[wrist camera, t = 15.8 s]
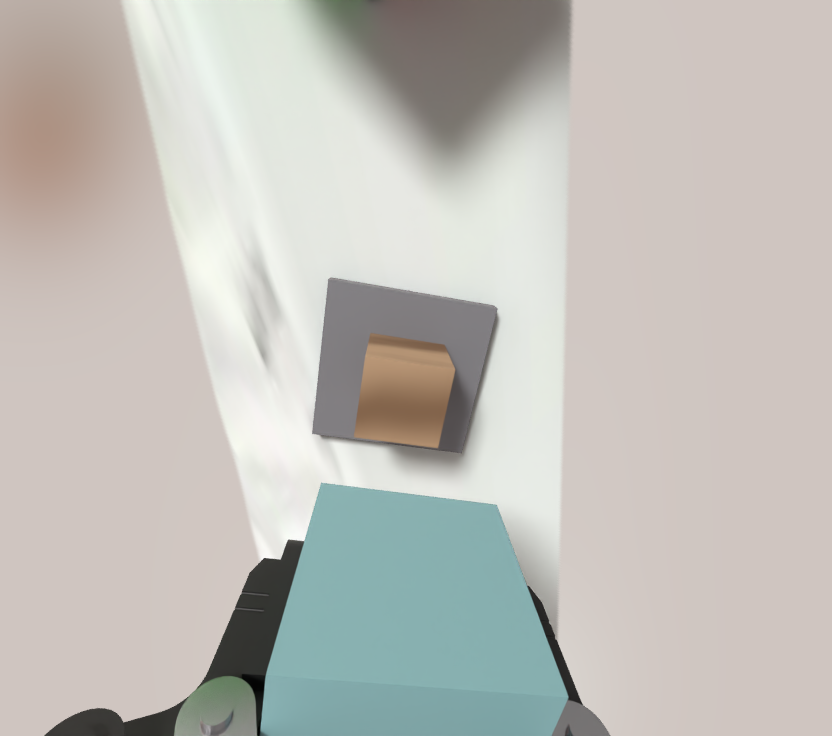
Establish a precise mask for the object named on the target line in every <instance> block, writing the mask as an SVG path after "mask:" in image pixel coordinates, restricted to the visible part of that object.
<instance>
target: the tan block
mask: <svg viewBox="0 0 832 736" xmlns="http://www.w3.org/2000/svg"><path fill="white" fill-rule="evenodd" d="M454 374H455V368H454V366H453V363H452V361H451V359H450V356H449V354H448V351H447V349H446V347H445V345H444V344H437V343H431V342H425V341H418V340H412V339H406V338H399V337H393V336H387V335H380V334H374V333H370V337H369V342H368V346H367V351H366V355H365V362H364V369H363V376H362V383H361V390H360V397H359V404H358V411H357V418H356V425H355V432H354V437H356V438H363V439H371V440H379V441H386V442H394V443H402V444H410V445H417V446H425V447H433V448H438V446H439V441H440V437H441V432H442V428H443V423H444V419H445V414H446V410H447V405H448V401H449V396H450V392H451V387H452V383H453V378H454Z"/></svg>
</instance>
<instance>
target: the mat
mask: <svg viewBox="0 0 832 736" xmlns="http://www.w3.org/2000/svg"><path fill="white" fill-rule="evenodd" d="M496 312H497V308H496V307H495V306H493V305H487V304H481V303H476V302H470V301H464V300H458V299H452V298H447V297H441V296H435V295H429V294H423V293H418V292H412V291H406V290H400V289H394V288H389V287H383V286H377V285H371V284H365V283H360V282H354V281H348V280H342V279H336V278H330V279H328V288H327V298H326V307H325V317H324V326H323V336H322V345H321V355H320V364H319V374H318V383H317V393H316V402H315V412H314V421H313V431H312V434H318V435H326V436H333V437H341V438H349V439H356V440H364V441H372V442H379V443H387V444H395V445H402V446H410V447H418V448H426V449H433V450H441V451H449V452H456V453H462V450H463V446H464V442H465V438H466V434H467V430H468V426H469V422H470V418H471V413H472V409H473V405H474V401H475V397H476V393H477V389H478V385H479V381H480V377H481V373H482V369H483V365H484V361H485V357H486V353H487V349H488V345H489V341H490V336H491V332H492V328H493V324H494V320H495V316H496ZM370 333H374V334H380V335H387V336H393V337H399V338H406V339H412V340H418V341H425V342H431V343H437V344H444V345H445V347H446V349H447V351H448V354H449V356H450V359H451V361H452V363H453V366H454V368H455V374H454V378H453V383H452V387H451V392H450V396H449V401H448V405H447V410H446V414H445V419H444V423H443V428H442V432H441V437H440V441H439V446H438V448H433V447H425V446H417V445H410V444H402V443H394V442H386V441H379V440H371V439H363V438H356V437H354V432H355V425H356V418H357V411H358V404H359V397H360V390H361V383H362V376H363V369H364V362H365V355H366V351H367V346H368V342H369V337H370Z"/></svg>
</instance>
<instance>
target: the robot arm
mask: <svg viewBox="0 0 832 736" xmlns="http://www.w3.org/2000/svg"><path fill="white" fill-rule="evenodd" d="M303 545H304V541H296V540H288V541H287V544H286V546H285V549H284V552H283V555H282V558H281V560H278V559H268V558H264V559H263V560H262V561H261V562H260V563H259V564H258V565H257V566H256V567H255V568H254V569H253V570H252V571H251V572H250V573H249V576H248V578H247V581H246V583H245V585H244V588H243V590H242V594H241V595H240V597H239V600H238V602H237V604H236V607H235V610H234V611H233V614H232V616H231V619H230V621H229V623H228V626H227V628H226V630H225V633H224V635H223V638H222V640H221V643H220V645H219V647H218V649H217V652H216V654H215V657H214V659H213V661H212V664H211V666H210V668H209V671H208V673H207V675H206V677H205V678H204V680H203V681H202V683H201V684H200V685H199V686H198V688H197V689H196V690H195V691H194V692H193V693H192V694H191V695H190V696H189V697H187V698H186V699H185V700H184V701H182V702H180V703H179V704H177V705H176V706H174V707H172V708H170V709H168V710H165V711H162V712H159V713H156V714H153V715H149V716H145V717H142V718H138V719H135V720H131V721H128V722H124V723H123V721H122V719H121V717H120V716H119V715H118V714H117V713H115V712H113V711H112V710H108V709H102V708H101V709H100V708H97V709H90V710H86V711H83V712H80V713H78V714H75V715H73V716H71V717H69V718H67V719H65V720H64V721H62V722H61V723H59V724H58V725H56V726H55V727H54V728H53V729H51V730H50V731H49V732H48V733H47V734H46V735H45V736H260V730H261V719H262V709H263V699H264V688H265V678H266V673H267V669H268V666H269V662H270V659H271V655H272V652H273V648H274V645H275V642H276V638H277V635H278V631H279V628H280V624H281V621H282V617H283V614H284V610H285V607H286V603H287V600H288V596H289V593H290V590H291V586H292V583H293V579H294V576H295V572H296V569H297V565H298V562H299V558H300V555H301V551H302V548H303ZM527 587H528V590H529V593H530V595H531V598H532V601H533V603H534V606H535V609H536V611H537V614H538V617H539V619H540V622H541V625H542V627H543V630H544V633H545V635H546V638H547V641H548V643H549V646H550V649H551V651H552V654H553V657H554V659H555V662H556V665H557V667H558V670H559V673H560V675H561V678H562V681H563V683H564V686H565V689H566V691H567V694H568V697H569V698H568V700H567V702H566V704H565V707H564V709H563V711H562V713H561V716H560V718H559V720H558V722H557V724H556V727H555V729H554V731H553V733H552V736H610V735H609V733H608V731H607V729H606V728H605V726H604V725H603V723H602V722H601V721H600V719H599V718H598V717H597V716H596V715H595V714H593V712H591V711H590V710H589V709H588V708H586V707H585V706H583V704H582V702H581V700H580V698H579V695H578V693H577V690H576V688H575V685H574V682H573V680H572V677H571V675H570V672H569V670H568V667H567V665H566V663H565V660H564V657H563V655H562V652H561V650H560V647H559V645H558V642H557V640H555V635H554V632H553V630H552V627H551V625H550V624H549V620H548V617H547V615H546V612H545V609H544V607H543V604H542V602H541V601H540V600H539V598H538V597H537V596H536V595H535V593H534V592H533V591H532V590H531V588H530V587H529V586H527Z"/></svg>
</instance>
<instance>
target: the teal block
mask: <svg viewBox="0 0 832 736" xmlns="http://www.w3.org/2000/svg"><path fill="white" fill-rule="evenodd" d="M568 698H569V697H568V694H567V691H566V689H565V686H564V683H563V681H562V678H561V675H560V673H559V670H558V667H557V665H556V662H555V659H554V657H553V654H552V651H551V649H550V646H549V643H548V641H547V638H546V635H545V633H544V630H543V627H542V625H541V622H540V619H539V617H538V614H537V611H536V609H535V606H534V603H533V601H532V598H531V595H530V593H529V590H528V587H527V585H526V582H525V579H524V577H523V574H522V571H521V569H520V566H519V563H518V561H517V558H516V555H515V552H514V550H513V547H512V544H511V542H510V539H509V536H508V534H507V531H506V528H505V526H504V523H503V520H502V518H501V515H500V512H499V510H498V507H497V505H494V504H486V503H478V502H470V501H462V500H454V499H446V498H438V497H430V496H422V495H414V494H406V493H398V492H390V491H382V490H374V489H366V488H358V487H351V486H343V485H335V484H327V483H321V486H320V489H319V493H318V496H317V500H316V503H315V506H314V510H313V513H312V517H311V520H310V524H309V527H308V531H307V534H306V538H305V541H304V545H303V548H302V551H301V555H300V558H299V562H298V565H297V569H296V572H295V576H294V579H293V583H292V586H291V590H290V593H289V596H288V600H287V603H286V607H285V610H284V614H283V617H282V621H281V624H280V628H279V631H278V635H277V638H276V642H275V645H274V648H273V652H272V655H271V659H270V662H269V666H268V669H267V673H266V678H265V688H264V699H263V709H262V719H261V730H260V736H552V733H553V731H554V729H555V727H556V724H557V722H558V720H559V718H560V716H561V713H562V711H563V709H564V707H565V704H566V702H567V700H568Z"/></svg>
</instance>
